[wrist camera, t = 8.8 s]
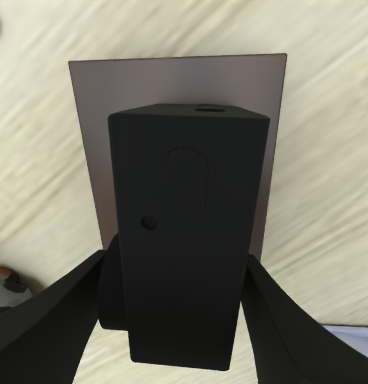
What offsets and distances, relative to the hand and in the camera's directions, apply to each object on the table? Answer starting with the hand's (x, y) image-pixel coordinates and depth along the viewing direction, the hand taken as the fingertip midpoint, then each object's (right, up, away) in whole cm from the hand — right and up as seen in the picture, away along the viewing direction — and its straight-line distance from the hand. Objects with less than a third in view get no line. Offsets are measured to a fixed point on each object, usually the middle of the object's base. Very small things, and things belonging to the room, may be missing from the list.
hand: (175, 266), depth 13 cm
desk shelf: (0, +6, +6) cm, 8 cm away
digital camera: (0, +4, +2) cm, 5 cm away
